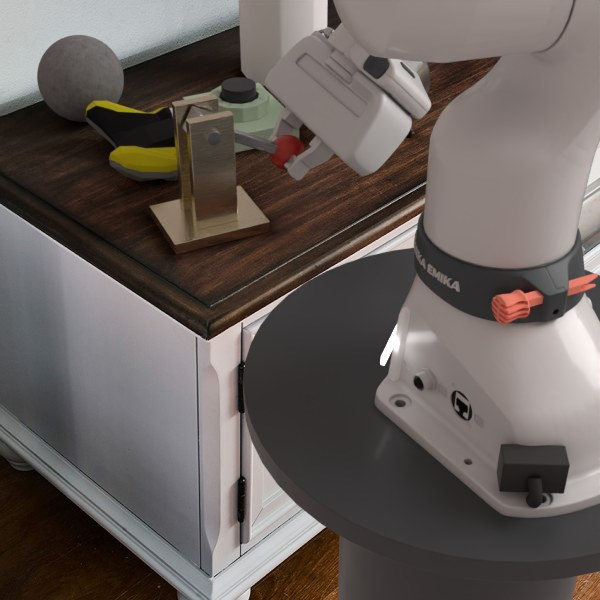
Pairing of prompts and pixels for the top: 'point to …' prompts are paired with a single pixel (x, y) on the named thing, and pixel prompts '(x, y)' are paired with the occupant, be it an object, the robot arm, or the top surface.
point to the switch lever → (261, 141)
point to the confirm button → (238, 90)
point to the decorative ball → (79, 75)
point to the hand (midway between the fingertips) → (280, 164)
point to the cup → (275, 31)
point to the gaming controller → (137, 140)
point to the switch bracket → (206, 183)
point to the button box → (251, 114)
